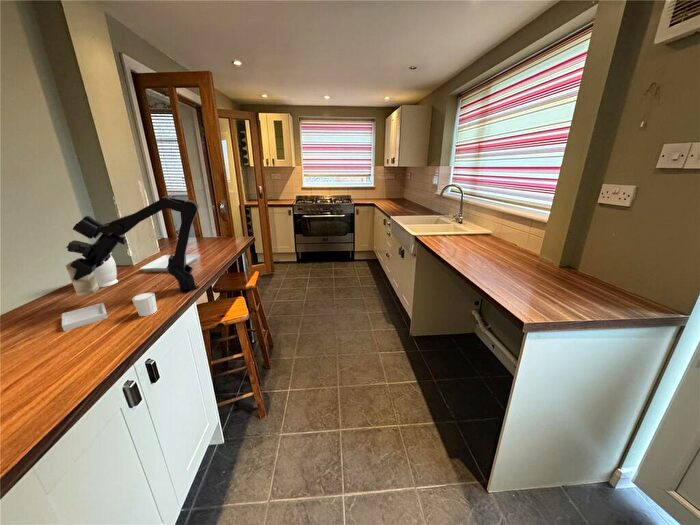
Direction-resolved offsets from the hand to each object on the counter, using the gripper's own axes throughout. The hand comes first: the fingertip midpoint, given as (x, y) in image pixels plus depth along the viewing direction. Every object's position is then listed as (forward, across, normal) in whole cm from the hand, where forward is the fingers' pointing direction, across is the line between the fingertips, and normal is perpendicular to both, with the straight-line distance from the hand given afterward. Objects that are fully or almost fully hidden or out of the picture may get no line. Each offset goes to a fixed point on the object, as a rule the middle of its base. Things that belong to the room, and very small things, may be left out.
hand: (78, 277), depth 107 cm
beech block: (+4, 0, +6) cm, 7 cm away
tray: (+6, +13, +11) cm, 18 cm away
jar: (+9, -22, +8) cm, 26 cm away
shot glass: (-8, +17, +26) cm, 32 cm away
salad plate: (-8, -37, +26) cm, 46 cm away
